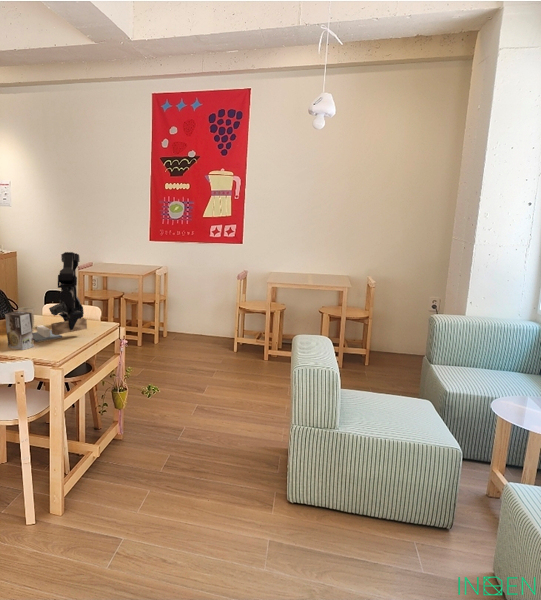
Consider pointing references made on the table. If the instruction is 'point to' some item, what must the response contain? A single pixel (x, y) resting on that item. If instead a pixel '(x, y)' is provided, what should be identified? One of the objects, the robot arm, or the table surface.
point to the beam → (64, 326)
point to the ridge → (44, 334)
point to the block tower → (29, 310)
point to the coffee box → (19, 330)
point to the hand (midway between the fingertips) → (69, 329)
